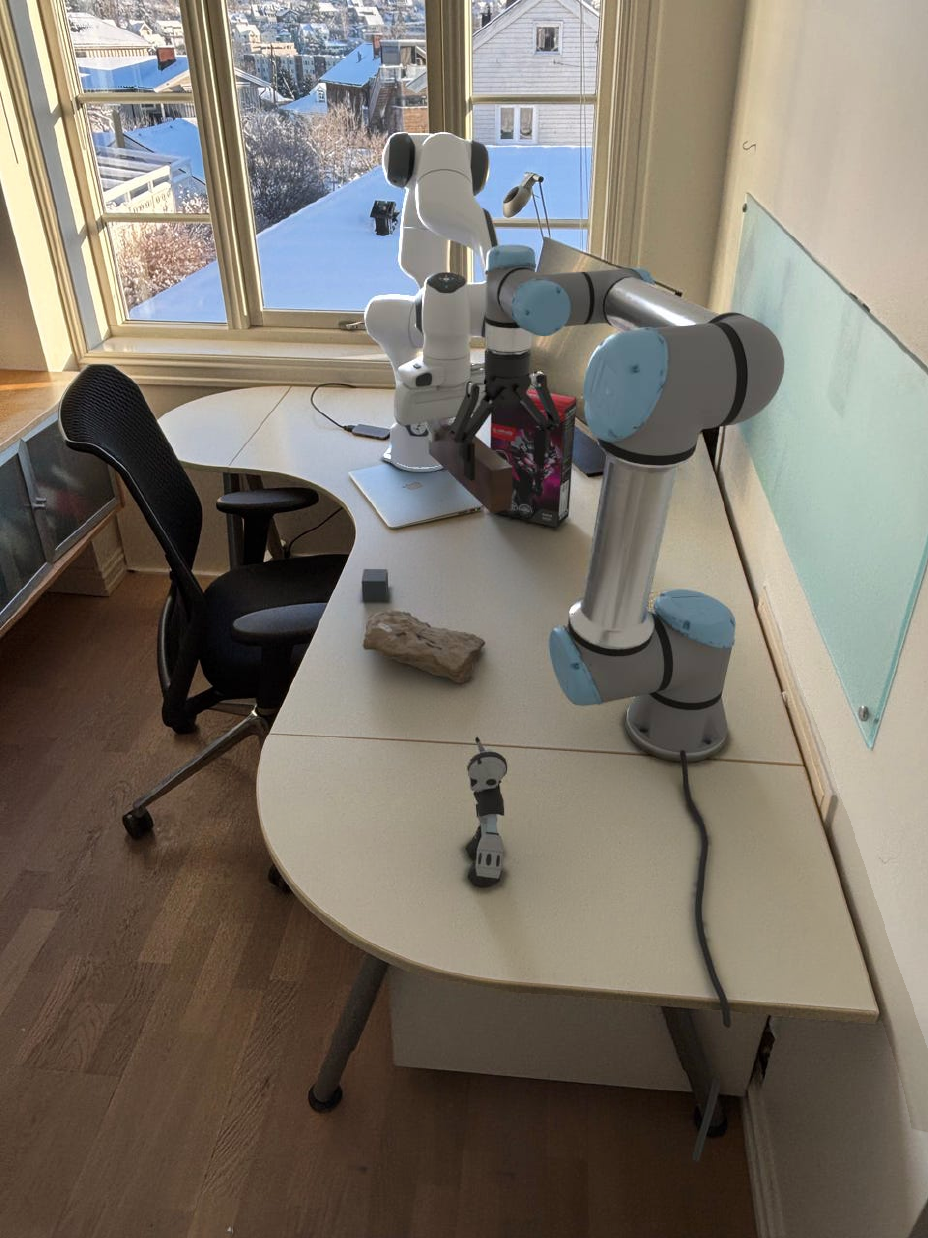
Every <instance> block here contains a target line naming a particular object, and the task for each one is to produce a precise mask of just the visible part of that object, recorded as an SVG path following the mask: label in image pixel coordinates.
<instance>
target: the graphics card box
mask: <svg viewBox="0 0 928 1238" xmlns="http://www.w3.org/2000/svg"><path fill="white" fill-rule="evenodd" d="M526 393H527V395H528V396H529V397H530V398H531V399H532V401H533V403H534V404H535V405H536V406H537V407H538V409H539V410H540V411H541V412H542V413H543V415H544V416H545V417H546V418H547V415H546V412H545V410H544V408H543V405H542V403H541V401H540V398H539V396H538V394H537V392H536V389H530V388H528V390H527V391H526ZM550 395H551V397H552V400H553V402H554V404H555V407H556V409H557V412H558V414H559V416H560V419H561V422H560V424H558V425H557V424H555V425H553V426H554V429H553V430H552V431H550V437H549V445H548V446H545V460H544V466H543V467H540V466H538V465H537V464H536V463H535V462H533V450H534V429H535V426H539V427H540V424H539V423H538V422H537V421H536V420H535V419H534V417H533V416H532V415H531V414H530V413H529V411H528V410H527V409H526V408H525V407H524V405H523V404H522V403H521V402H519V403H517V405H508V406H505V407H500V406H498V407H497V409H496V410H495V411H494V412H492V413H491V414H490V446H489V447H490V448H491V449H492V450H493V451H494V452H496V453H497V454H498V455H499V456H500V457H502V458H503V459H504V460H505V461H506V462H508V463H509V464H510V465H511V466H512V467H513V479H512V506H511V509H508V510H503V511H498V512H493V514H499V515H503V516H506V517H511V518H516V519H521V520H525V521H529V522H532V523H536V524H540V525H545V526H548V527H553V528H559V527H560V526H561V525H562V523H563V522H564V521H565V520H566V519H568V518H569V514H570V499H571V487H572V470H573V469H572V468H573V454H574V443H575V442H574V441H575V429H576V414H577V403H578V399H577V397H576V396H575V397H574V396H567V395H566V396H565V395H561V394H555V393H550Z"/></svg>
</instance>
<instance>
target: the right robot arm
mask: <svg viewBox="0 0 928 1238" xmlns="http://www.w3.org/2000/svg"><path fill="white" fill-rule="evenodd" d="M536 268H537V263H536V252H535V250H534V249H533V248H532V247H530V246H529V245H528V246H527V245H524V244H523V245H522V244H499V246H495V247H492V248H491V249H490V250H489V251H488V253H487V262H486V270H485V275H486V310H485V316H486V317H485V338H484V346H485V348H486V349H485V350H484V362H485V363H484V362H483V363H484V370H485V379H484V381H483V383H473V382H472V381H468V382H467V385H466V394H465V397H464V399H463V401H462V404H461V406H460V408H459V410H458V413H457V415H456V417H454V418H455V420H454V422H453V424H452V427H451V429H450V431H449V433H448V436H449V437H450V438H451V439H452V440H453V441H455V442H456V443H458V442H459V457H460V459H461V460H462V461H463V462H464V476H466V477H467V478H468V479H469V480H470V481H472V480H474V475H475V444H474V443H473V442H472V439H473V438H474V436H477V434H478V432H479V431H480V430H481V428H482V427H483V425H484V424H485V422H486V421H487V420H488V418H489V417H490V416H491V413H492V412H494V411H495V410H496V409H497V407H498V406H500V407H505V406H508V405H517V403H519V402H521V403H522V404H523V405H524V407H525V408H526V409H527V410H528V411H529V413H530V414H531V415H532V416H533V417H534V419H535V420H536V421H537V422H538V423H539V424H540V427H539V426H535V429H534V450H533V462H535V463H536V464H537V465H538V466H540V467H543V466H544V460H545V446H548V445H549V437H550V431H552V430H553V429H554V426H553V425H555V424H557V425H558V424H560V422H561V419H560V416H559V414H558V412H557V409H556V407H555V404H554V402H553V400H552V397H551V395H550V394H551V393H550V390H549V388H548V377H547V375H546V374H545V373H543V372H541V371H540V370H535V371H534V372H533V373H532V374H530V372H531V368H532V367H531V366H532V365H531V364H532V351H531V350H530V349H531V348H532V344H533V335H535V336H537V337H549V336H552V335H554V334H556V333H558V332H559V331H560V330H562V329H563V328H564V327H574V326H575V327H577V326H586V325H596V324H597V325H598V324H606V325H609V326H610V327H612V328H615V329H616V330H618V332H615V333H613V334H611V335H609V336H608V337H606V338H605V339H604V340H603V341H602V342H600V343H599V344H598V345H597V347H596V348H595V350H594V351H593V353H592V355H591V356H590V359H589V361H588V364H587V366H586V371H585V374H584V378H583V379H584V380H583V386H582V399H583V400H584V407H583V414H584V419H585V421H586V424H587V427H588V429H589V430H590V432H591V434H593V436H594V437H596V443H597V445H598V447H599V448H600V449H601V450H602V451H603V452H604V454H605V461H604V467H603V474H602V480H601V485H600V493H599V498H598V505H597V512H596V515H595V523H594V530H593V536H592V541H591V548H590V554H589V559H588V566H587V572H586V578H585V584H584V589H583V596H582V597H580V598H579V599H577V600H576V601H575V602H574V603H573V604H572V606H571V608H570V610H569V613H568V621H567V624H566V625H562V624H561V625H558V626H556V627H554V628H552V629H551V631H550V633H549V637H548V649H549V655H550V661H551V665H552V668H553V672H554V675H555V677H556V680H557V683H558V685H559V687H560V689H561V691H562V693H563V694H564V696H565V697H566V698H567V700H568V701H569V702H570V703H572V704H573V705H576V706H580V707H585V706H593V705H603V704H605V703H611V702H615V701H618V700H619V701H620V700H625V699H628V698H633V699H632V701H631V702H630V704H629V705H628V707H627V711H626V719H625V728H626V732H627V734H628V736H629V738H630V739H631V741H632V742H634V744H636V745H637V746H638V747H639V748H640V749H641V750H643V751H645V752H646V753H648V754H650V755H651V756H654V757H656V758H659V759H662V760H666V761H670V762H675V763H680V766H681V773H682V787H683V793H684V797H685V801H686V804H687V806H688V808H689V810H690V812H691V813H692V815H693V818H694V819H695V822H696V823H697V826H698V828H699V831H700V836H701V849H700V851H701V852H700V857H699V862H698V863H699V864H698V870H697V871H698V872H697V884H696V892H695V903H694V917H695V925H696V931H697V937H698V940H699V944H700V948H701V952H702V955H703V959H704V962H705V965H706V969H707V972H708V975H709V978H710V981H711V983H712V985H713V988H714V990H715V992H716V994H717V996H718V999H719V1002H720V1006H721V1013H722V1024H723V1026H724V1027H725V1028H731V1026H732V1024H731V1023H732V1021H731V1013H730V1012H731V1011H730V1007H729V1002H728V998H727V996H726V993H725V990H724V988H723V986H722V984H721V982H720V980H719V977H718V974H717V972H716V968H715V965H714V961H713V959H712V956H711V953H710V950H709V946H708V942H707V938H706V935H705V928H704V922H703V896H704V887H705V879H706V878H705V877H706V876H705V875H706V865H707V858H708V852H709V851H708V850H709V839H708V832H707V827H706V825H705V822H704V820H703V818H702V816H701V814H700V812H699V811H698V809H697V807H696V805H695V803H694V801H693V798H692V795H691V791H690V783H689V781H690V780H689V769H688V763H694V762H700V761H703V760H706V759H709V758H711V757H714V755H716V754H718V752H720V751H721V750H722V748H723V747H724V744H725V743H726V740H727V739H726V738H727V734H728V721H727V716H726V712H725V708H724V707H725V706H724V701H723V692H724V686H725V682H726V678H727V672H728V668H729V663H730V659H731V654H732V651H733V650H732V649H733V647H734V645H735V642H736V641H735V635H736V617H735V616H734V614H733V612H732V611H731V609H730V608H729V607H728V606H727V605H726V604H725V603H723V602H722V601H720V600H719V599H717V598H715V597H713V596H711V595H709V594H706V593H703V592H701V591H697V590H692V589H683V588H675V589H674V588H673V589H667V590H665V591H663V592H661V593H660V594H659V595H658V596H657V597H656V599H655V600H654V602H653V609H652V610H651V609H650V610H649V609H648V606H649V601H650V596H651V592H652V587H653V583H654V578H655V574H656V569H657V564H658V559H659V555H660V550H661V546H662V542H663V537H664V532H665V528H666V523H667V519H668V514H669V509H670V507H671V500H672V496H673V491H674V488H675V484H676V478H677V474H678V468H679V466H681V465H683V464H685V463H687V462H689V461H690V460H691V459H692V458H693V457H694V455H695V452H696V448H697V445H698V441H699V438H700V437H699V436H700V433H701V431H702V430H707V429H713V428H721V427H726V426H727V427H728V426H734V425H737V424H740V423H744V422H746V421H748V420H750V419H752V418H753V417H755V416H756V415H759V414H760V413H761V412H763V410H764V409H765V408H767V406H768V405H769V404H770V403H771V402H772V401H773V399H774V397H775V396H776V395H777V393H778V391H779V389H780V386H781V384H782V381H783V377H784V373H785V356H784V355H785V354H784V350H783V347H782V345H781V342H780V340H779V339H778V337H777V336H776V334H775V333H774V332H773V331H772V330H771V329H770V327H768V326H766V325H765V324H763V323H762V322H760V321H758V320H757V319H755V318H752V317H749V316H747V315H745V314H743V313H739V312H735V311H727V312H722V313H717V312H715V311H713V310H711V309H709V308H706V307H704V306H702V305H700V304H698V303H695V302H693V301H690V300H688V299H686V298H683V297H681V296H680V295H677V294H675V293H672V292H671V291H667V290H665V289H663V288H661V287H658V286H657V285H656V284H655V280H654V278H653V277H651V273H650V272H649V270H647V269H645V268H643V267H642V268H641V267H628V266H626V267H625V266H624V267H620V268H613V269H612V268H611V269H601V270H588V271H587V270H586V271H571V272H558V273H540V272H537V271H536ZM619 331H620V332H619ZM531 385H532V386H533V387H534V390H535V391H536V392H537V394H538V396H539V398H540V401H541V403H542V405H543V408H544V410H545V412H546V415H547V418H546V417H545V416H544V415H543V413H542V412H541V411H540V410H539V409H538V407H537V406H536V405H535V404H534V403H533V401H532V399H531V398H530V397H529V396H528V395H527V393H526V391H527V390H528V389H530V387H531ZM483 391H484V392H485V393H486V394H485V395H484V397H483V398H482V399H481V401H480V405H479V407H478V408H477V409H476V411H475V412H474V414H472V413H473V411H474V409H475V407H476V404H477V402H478V398H479V397H480V396H481V395H482V394H481V393H482V392H483ZM490 400H491V401H492V402H491V403H490V404H489V402H490ZM721 1082H722V1079H720V1078H716V1077H713V1080H712V1084H711V1088H710V1093H709V1096H708V1101H707V1105H706V1108H705V1112H704V1115H703V1119H702V1122H701V1125H700V1128H699V1131H698V1135H697V1138H696V1142H695V1146H694V1150H693V1153H692V1160H693V1161H694V1162H696V1163H697V1162H699V1161H700V1159H701V1158H700V1157H701V1155H702V1152H703V1151H702V1150H703V1147H704V1143H705V1140H706V1137H707V1133H708V1130H709V1127H710V1124H711V1120H712V1117H713V1114H714V1110H715V1106H716V1103H717V1099H718V1095H719V1091H720V1088H721V1087H720V1086H721Z"/></svg>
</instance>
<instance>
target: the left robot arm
mask: <svg viewBox="0 0 928 1238" xmlns="http://www.w3.org/2000/svg"><path fill="white" fill-rule="evenodd" d="M381 164H382V170H383V173H384V177H385V180H386V181H387V183H388V184H389V185H390V186H392V187H394V188H397V189H400V190H404V189H406V193H405V196H404V201H403V205H402V206H403V208H402V214H401V222H400V234H399V235H400V236H399V251H398V263H399V266H400V269H401V270H402V272H403V273H404V274H405V275H406V276H407V277H409V278H410V279H412V280H413V281H415V283H416V285H417V287H418V290H419V291H418V292H417V294H415V296H413V295H412V296H411V295H404V294H403V295H402V294H385V295H377V296H374V297H373V298H372V299H371V300H370V301H369V303H368V304H367V306H366V308H365V311H364V317H363V318H364V326H365V329H366V332H367V333H368V335H369V337H370V338H371V339H373V341H375V342H376V343H377V344H378V345H379V347H380V348H381V349H382V350H383V351H384V353H385V355H386V357H387V358H388V360H389V362H390V364H391V367H392V370H393V375H394V380H395V389H394V393H393V394H394V395H393V416H394V418H395V421H396V422H395V423H394V424H393V425H392V426H391V427H390V428H389V447H388V449H387V450H386V451H385V453H384V454H383V456H382V460H383V461H385V462H387V463H391V464H392V465H393V466H395V467H396V468H398V469H400V470H403V471H407V472H415V473H427V472H435V471H438V470H439V471H440V470H442V469H445V468H444V467H443V466H439V465H440V464H439V463H438V462H437V461H436V460H435V459H434V458H433V457H432V456H431V455H430V454H429V440H430V441H431V442H436V441H439V438H438V437H439V433H438V432H437V431H436V430H433V429H432V427H431V426H433V425H434V421H435V420H441V419H447V418H453V417H454V418H455V417H456V415H457V413H458V410H459V408H460V406H461V404H462V401H463V399H464V397H465V394H466V385H467V382H468V381H472V382H473V383H483V381H484V379H485V370H484V363H485V361H484V362H482V363H471V359H472V358H471V357H472V355H471V352H472V351H471V346H470V342H471V340H472V339H473V338H482V339H485V317H486V316H485V310H486V275H485V270H486V262H487V253H488V251H489V250H490V249H491V248H492V247H495V246H499V245H500V244H499V239H498V235H497V231H496V227H495V224H494V221H493V218H492V216H491V213H490V211H489V210H487V209H486V208H484V207H482V206H481V205H480V204H479V202H478V201H477V199H476V196H477V195H479V194H480V193H481V192H482V191H484V189H485V187H486V184H487V182H488V181H489V180H488V179H489V176H490V171H491V163H490V157H489V151H488V149H487V147H486V145H485V144H483V143H482V142H479V141H477V140H474V139H469V140H467V139H464V138H460V137H459V136H457V135H455V134H452V133H450V132H437V133H434V134H433V133H409V132H408V131H402V132H395V133H393V134H392V135H391V136H390V137H388V139H387V142H386V144H385V146H384V149H383V151H382V158H381ZM451 242H454V243H457V244H460V245H462V246H464V247H467V248H468V249H470V250H472V251H473V252H475V254H476V255H477V257H478V260H479V264H480V269H481V273H482V278H483V281H482V282H468V281H467V279H466V278H465V277H464V276H463V275H461V274H459V273H456V272H451V267H450V265H451V264H450V261H451V257H450V256H451ZM481 394H482V395H481V396H480V397H479V398H478V402H477V404H476V407H475V409H474V411H473V413H472V415H473V414H474V412H475V411H476V409H477V408H478V407H479V405H480V401H481V399H482V398H483V397H484V395H485V394H486V393H485V392H484V391H483V392H482V393H481ZM491 402H492V401H491V400H490V402H489V404H490V403H491ZM397 463H399V464H402V465H405V466H408V467H419V468H421V467H435V466H438V467H435V468H429V469H413V468H407V467H404V466H401V465H399V464H397Z"/></svg>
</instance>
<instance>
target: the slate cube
mask: <svg viewBox="0 0 928 1238" xmlns="http://www.w3.org/2000/svg"><path fill="white" fill-rule="evenodd" d="M361 595H362V602H380V603H381V602H387V601H388V596H389V570H388V568H363V571H362V578H361Z"/></svg>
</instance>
